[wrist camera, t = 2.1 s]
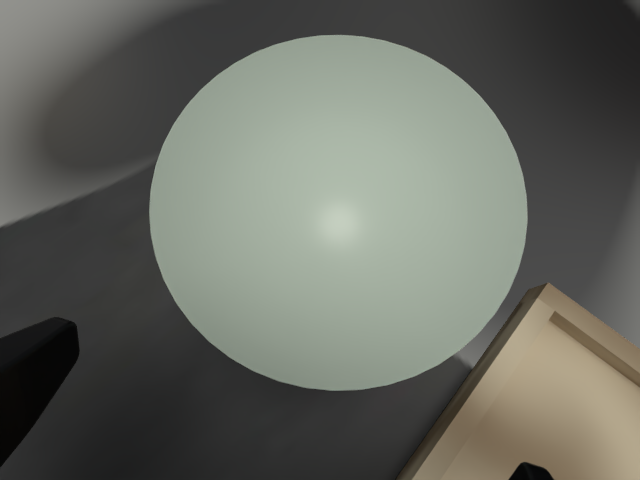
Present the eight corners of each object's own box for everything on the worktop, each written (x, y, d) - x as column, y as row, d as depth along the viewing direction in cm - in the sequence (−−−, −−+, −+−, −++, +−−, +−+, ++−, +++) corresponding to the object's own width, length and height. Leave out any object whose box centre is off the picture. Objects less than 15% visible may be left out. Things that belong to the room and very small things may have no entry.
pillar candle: (339, 403, 19) (372, 487, 6) (231, 311, 20) (70, 218, 7) (423, 292, 20) (598, 167, 7) (318, 211, 21) (312, -21, 8)
